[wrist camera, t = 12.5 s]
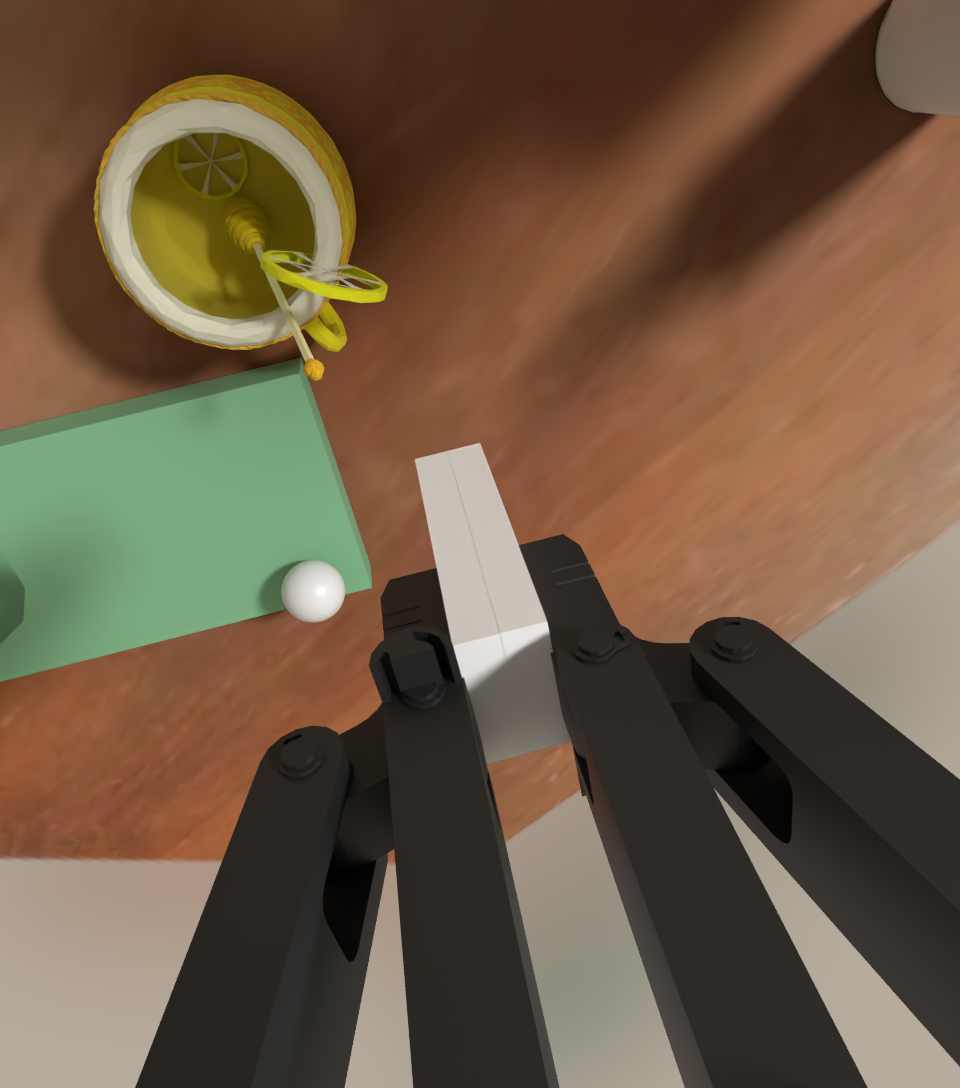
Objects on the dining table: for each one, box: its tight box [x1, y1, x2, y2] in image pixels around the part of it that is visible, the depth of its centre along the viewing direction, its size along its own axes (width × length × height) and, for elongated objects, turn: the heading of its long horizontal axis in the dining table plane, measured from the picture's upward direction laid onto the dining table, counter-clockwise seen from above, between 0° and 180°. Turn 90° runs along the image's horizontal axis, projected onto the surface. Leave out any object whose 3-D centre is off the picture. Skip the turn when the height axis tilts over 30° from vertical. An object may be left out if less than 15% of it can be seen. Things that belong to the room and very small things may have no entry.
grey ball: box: [281, 560, 345, 622], centre depth 45 cm, size 4×4×4 cm
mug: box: [93, 75, 388, 381], centre depth 33 cm, size 13×11×12 cm
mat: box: [0, 358, 372, 682], centre depth 44 cm, size 14×28×4 cm, turn 101°
